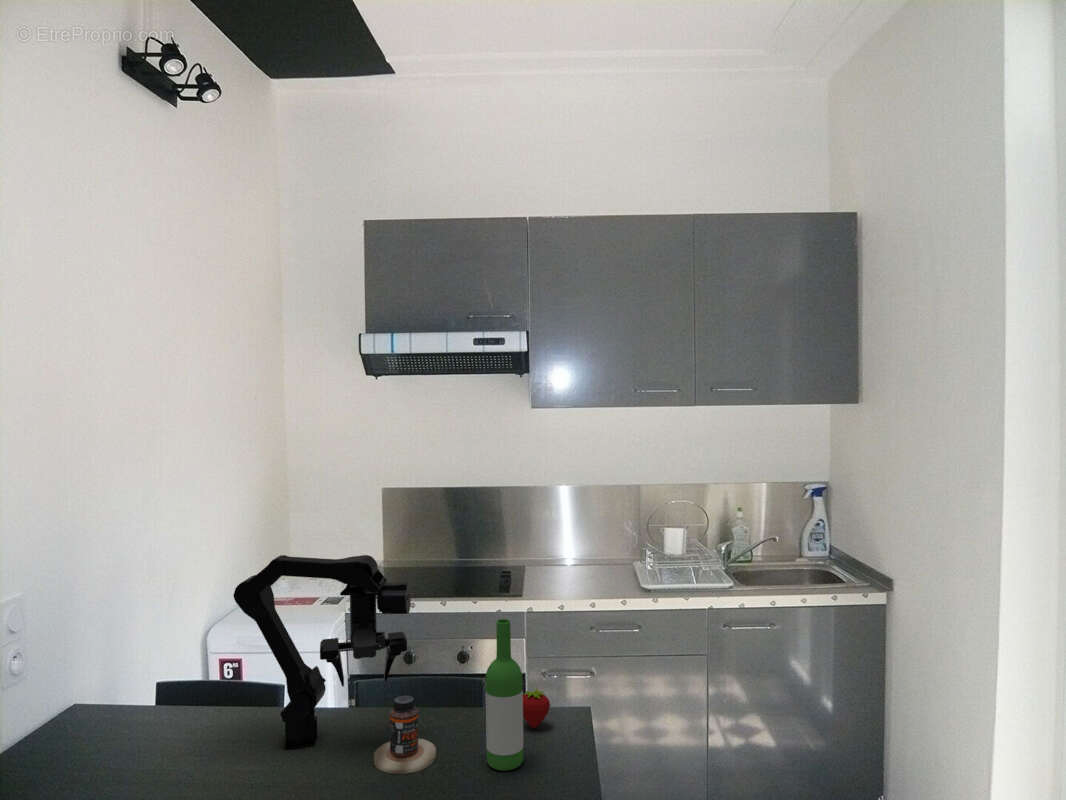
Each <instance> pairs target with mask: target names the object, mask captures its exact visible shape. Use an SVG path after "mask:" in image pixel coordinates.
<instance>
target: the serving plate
mask: <svg viewBox="0 0 1066 800" xmlns="http://www.w3.org/2000/svg"><path fill="white" fill-rule="evenodd" d="M436 758H437V749H436V746H435V745H434V743H432V742H430V741H429V740H426V739H423V738H419V737H418V750H417V752H416V753H415V754H413V755H412V756H409V757H396V756H394V755H392V754H391V752H390V741H388V742H385V743H383V744H381V746H379V747H378V748H377V749H376V750H375V752H374V753H373V764H374V766H375V767H376V768H377V769H378V770H380V771H381V772H384V773H388V774H393V775H394V774H395V775H405V774H410V773H417V772H419V771H421V770H424V769H427V768H428V767H429V766H430V765H432V764H433V763H434V762H435V760H436Z"/></svg>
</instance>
